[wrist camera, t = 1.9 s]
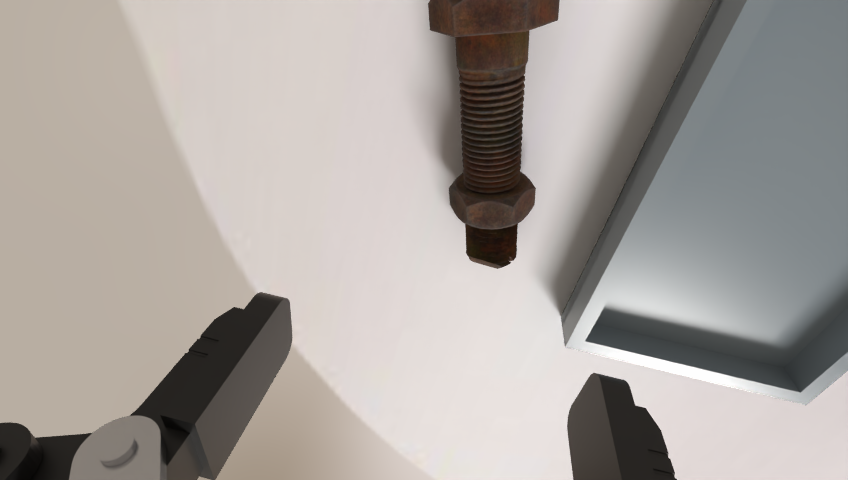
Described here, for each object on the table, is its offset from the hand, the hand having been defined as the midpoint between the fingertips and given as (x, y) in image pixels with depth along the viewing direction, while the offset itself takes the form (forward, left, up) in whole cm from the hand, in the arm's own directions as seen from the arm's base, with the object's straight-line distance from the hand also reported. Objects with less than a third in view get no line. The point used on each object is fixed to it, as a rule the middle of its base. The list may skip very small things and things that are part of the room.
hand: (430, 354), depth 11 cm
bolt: (-1, -1, -17) cm, 17 cm away
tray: (-17, 0, -16) cm, 24 cm away
